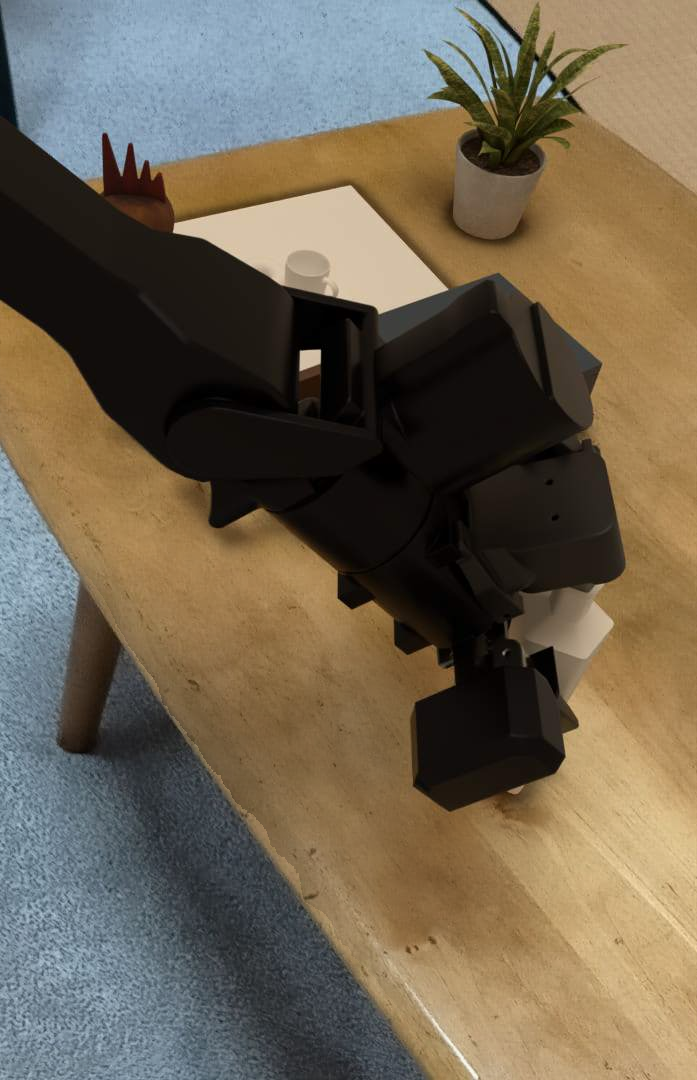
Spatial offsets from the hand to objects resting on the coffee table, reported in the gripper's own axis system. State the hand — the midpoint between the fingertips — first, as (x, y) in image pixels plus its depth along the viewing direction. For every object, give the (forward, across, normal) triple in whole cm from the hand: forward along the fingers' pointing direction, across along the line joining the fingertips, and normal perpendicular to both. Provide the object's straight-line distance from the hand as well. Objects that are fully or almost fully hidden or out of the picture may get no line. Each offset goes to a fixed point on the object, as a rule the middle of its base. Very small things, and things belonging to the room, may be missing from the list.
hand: (564, 686), depth 61 cm
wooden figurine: (-12, +32, +22) cm, 41 cm away
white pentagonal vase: (+4, 0, +6) cm, 7 cm away
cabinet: (+4, +27, +6) cm, 28 cm away
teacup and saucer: (-4, +39, +14) cm, 42 cm away
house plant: (+7, +51, +4) cm, 52 cm away
